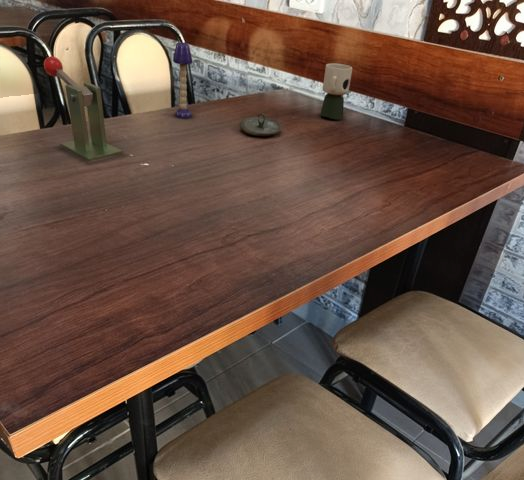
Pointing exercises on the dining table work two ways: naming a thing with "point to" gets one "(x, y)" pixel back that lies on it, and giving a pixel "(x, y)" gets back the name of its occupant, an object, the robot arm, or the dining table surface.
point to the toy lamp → (183, 76)
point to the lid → (260, 126)
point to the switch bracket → (82, 143)
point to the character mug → (335, 89)
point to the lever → (66, 78)
